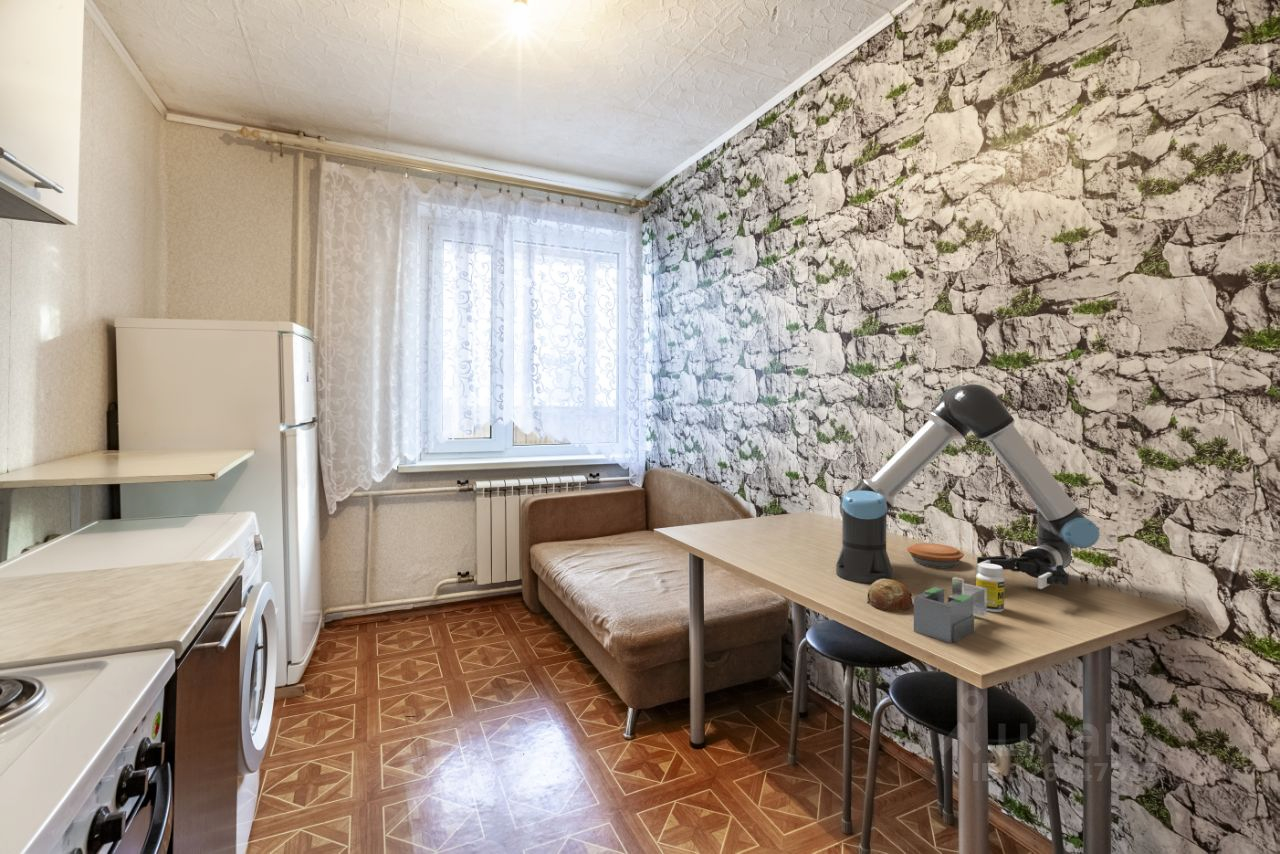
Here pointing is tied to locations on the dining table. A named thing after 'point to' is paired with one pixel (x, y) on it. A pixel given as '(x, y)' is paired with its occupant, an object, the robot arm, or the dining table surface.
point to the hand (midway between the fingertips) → (1007, 576)
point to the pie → (935, 554)
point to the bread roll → (889, 595)
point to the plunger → (970, 590)
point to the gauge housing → (943, 615)
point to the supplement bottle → (992, 585)
